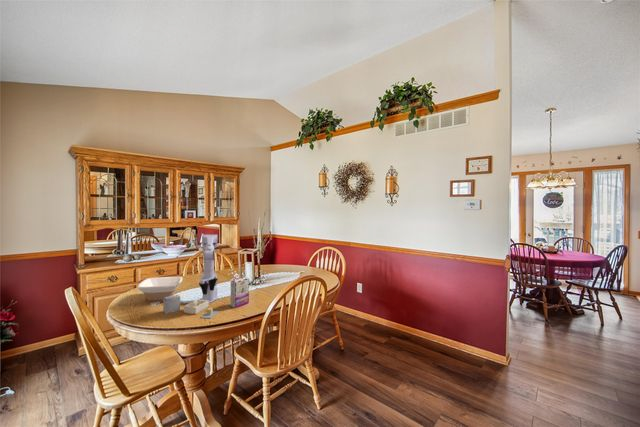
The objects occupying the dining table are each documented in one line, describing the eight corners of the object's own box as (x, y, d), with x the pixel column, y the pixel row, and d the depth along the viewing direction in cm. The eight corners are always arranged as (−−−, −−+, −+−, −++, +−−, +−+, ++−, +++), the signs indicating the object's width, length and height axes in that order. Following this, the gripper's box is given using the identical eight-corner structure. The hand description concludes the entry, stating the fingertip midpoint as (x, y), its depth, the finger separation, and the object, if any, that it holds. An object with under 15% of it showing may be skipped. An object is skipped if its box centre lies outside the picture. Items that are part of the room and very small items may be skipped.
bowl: (177, 302, 175) (177, 285, 175) (133, 305, 168) (133, 287, 168) (184, 290, 198) (184, 276, 198) (146, 292, 191) (146, 277, 191)
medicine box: (177, 308, 165) (177, 294, 165) (180, 310, 162) (180, 296, 162) (163, 312, 159) (163, 297, 159) (166, 314, 156) (166, 299, 156)
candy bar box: (243, 301, 180) (244, 276, 180) (248, 303, 177) (249, 278, 177) (229, 306, 171) (230, 280, 170) (235, 308, 168) (236, 281, 167)
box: (197, 305, 170) (197, 299, 170) (208, 307, 169) (208, 300, 169) (183, 312, 159) (183, 306, 159) (195, 314, 157) (195, 307, 157)
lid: (209, 312, 163) (209, 305, 162) (218, 312, 162) (218, 306, 162) (200, 318, 153) (200, 311, 152) (210, 319, 152) (210, 312, 152)
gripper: (209, 267, 174) (208, 288, 174) (195, 272, 159) (195, 295, 160) (219, 267, 172) (219, 289, 173) (206, 273, 158) (206, 296, 159)
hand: (208, 292), depth 166 cm, fingers open, 7 cm apart
